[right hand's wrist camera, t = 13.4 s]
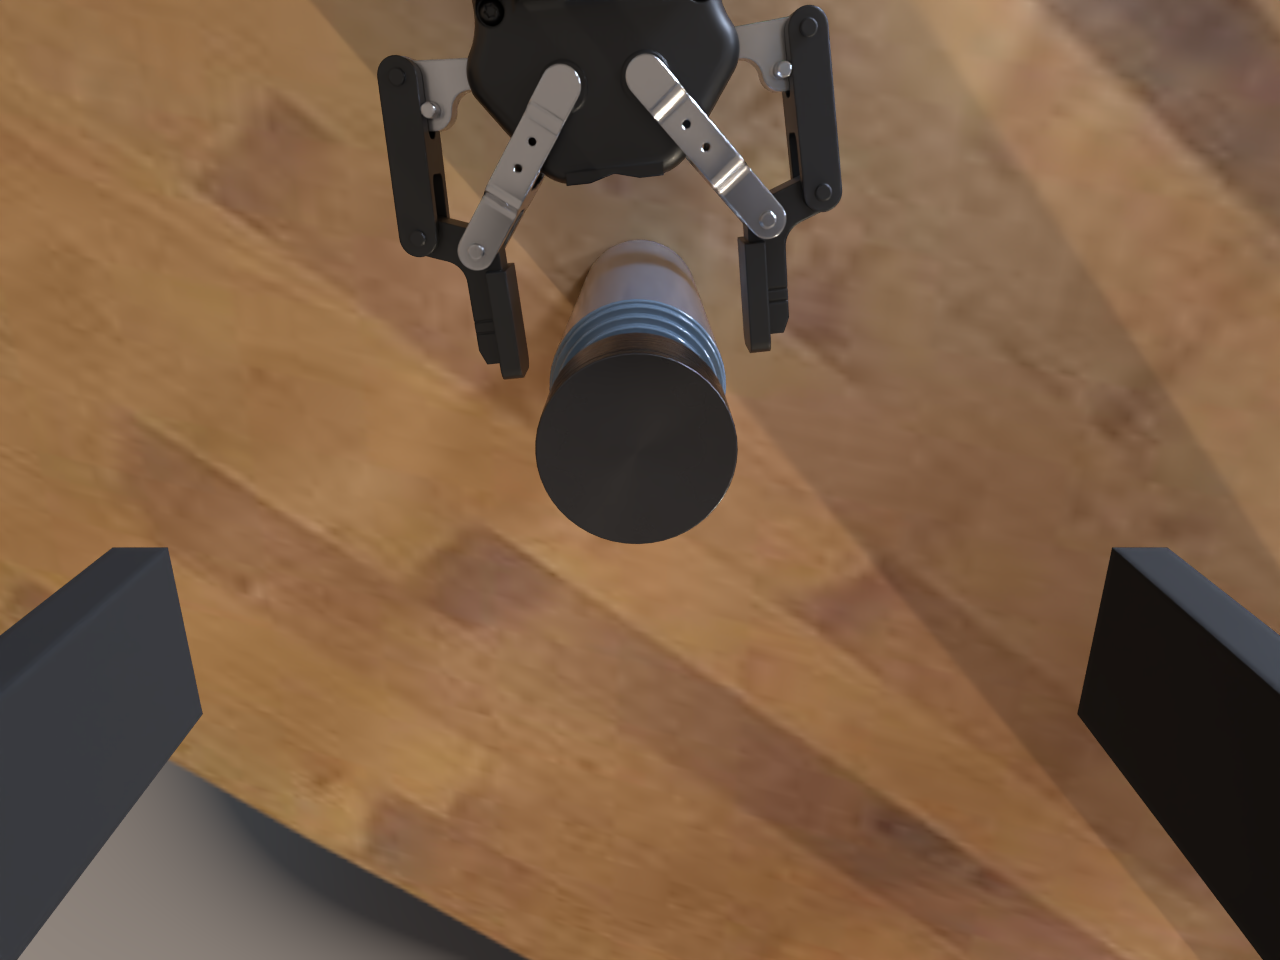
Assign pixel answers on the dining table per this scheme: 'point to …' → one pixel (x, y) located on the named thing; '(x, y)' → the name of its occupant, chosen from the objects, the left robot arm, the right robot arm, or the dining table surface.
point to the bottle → (639, 304)
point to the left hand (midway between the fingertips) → (635, 360)
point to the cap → (636, 439)
